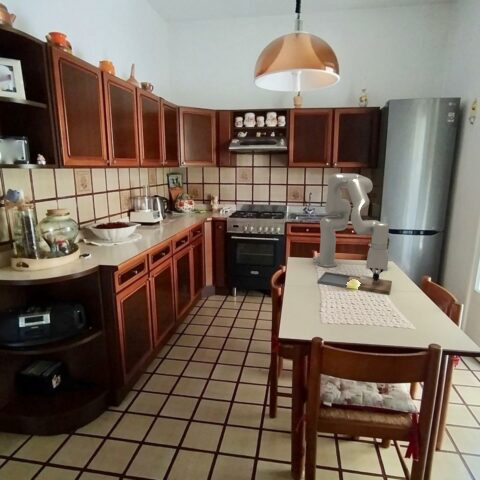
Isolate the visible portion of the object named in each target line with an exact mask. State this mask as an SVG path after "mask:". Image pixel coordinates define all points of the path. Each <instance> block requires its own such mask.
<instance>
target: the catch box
mask: <svg viewBox="0 0 480 480" xmlns="http://www.w3.org/2000/svg"><path fill="white" fill-rule="evenodd" d="M350 276H351V277H358V278H361V276H356V275H351V274H343V273H336V272H330V271H324V272H323V274H321V276H320V277H319V278H318V280H316V281H317V284H320V285H326V286H332V287H337V288H338V287H339V288H344V289H347V288H346V287H347V285H346V284H347V282H348V279H349V277H350ZM361 284H362V283H361ZM361 284H360V286H361ZM360 286H359V287H358V290H357V291H361V290H360Z"/></svg>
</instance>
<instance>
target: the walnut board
mask: <svg viewBox="0 0 480 480" xmlns="http://www.w3.org/2000/svg"><path fill="white" fill-rule="evenodd" d="M392 282H393V281H392V280H388V279H382V278H381V279H380V278H379V280H378V279H377V281H376V280H375V281H374V279H373V283H372V285H370V284H364V283H362V284H361V286H360V290H359V291H362V292H367V293H374V294H380V295H387V296H389V295H390V293H391V288H392Z"/></svg>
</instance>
